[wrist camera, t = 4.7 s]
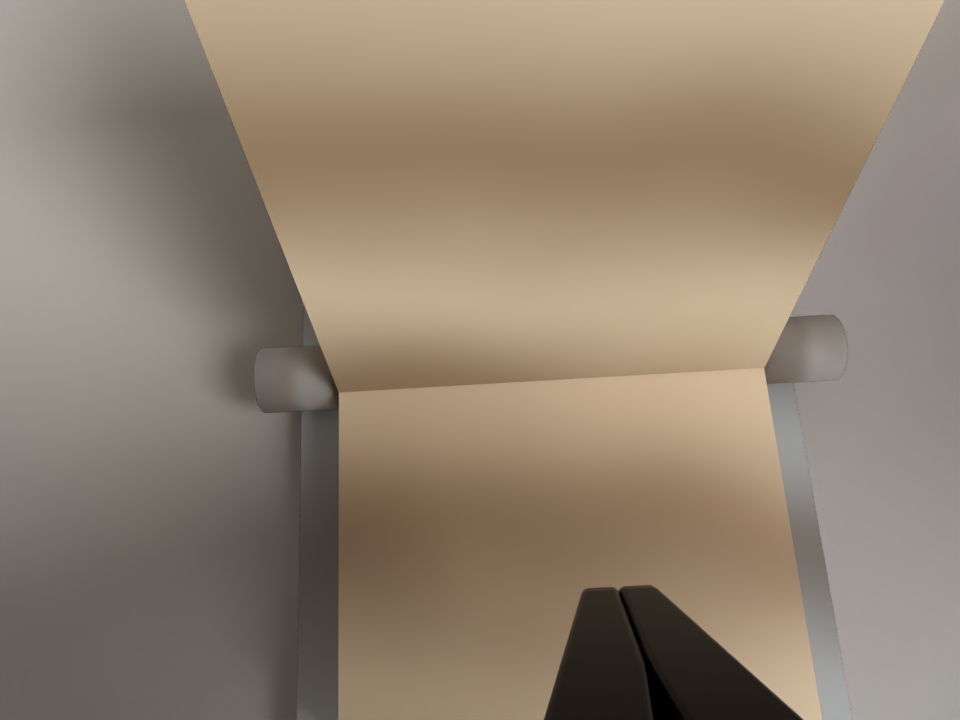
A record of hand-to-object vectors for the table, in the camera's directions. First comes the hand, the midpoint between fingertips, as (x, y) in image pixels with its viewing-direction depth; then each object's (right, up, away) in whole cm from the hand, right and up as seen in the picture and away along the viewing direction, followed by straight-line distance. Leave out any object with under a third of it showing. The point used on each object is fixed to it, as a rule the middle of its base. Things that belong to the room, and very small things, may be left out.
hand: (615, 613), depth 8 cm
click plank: (0, +7, +2) cm, 8 cm away
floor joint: (0, +5, +9) cm, 10 cm away
